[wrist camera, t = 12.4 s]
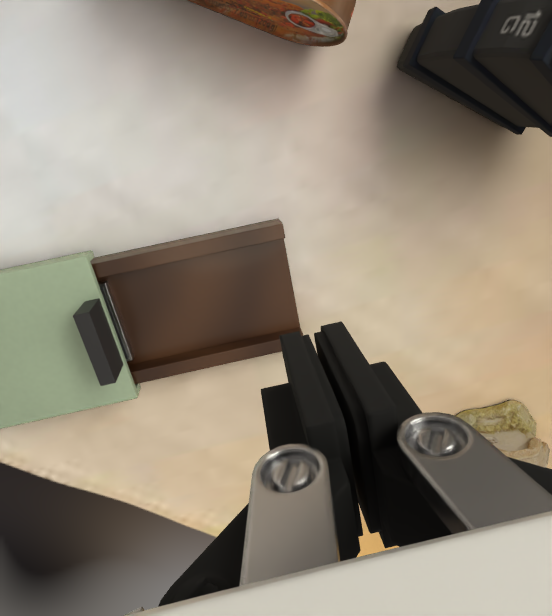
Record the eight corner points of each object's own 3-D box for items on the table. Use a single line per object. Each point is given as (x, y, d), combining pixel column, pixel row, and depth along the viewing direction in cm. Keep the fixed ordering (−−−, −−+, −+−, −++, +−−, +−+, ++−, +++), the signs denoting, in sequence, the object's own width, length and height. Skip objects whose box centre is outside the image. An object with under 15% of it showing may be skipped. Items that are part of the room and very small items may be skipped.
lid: (-27, 424, 39) (-59, 462, 35) (-100, 290, 34) (-148, 314, 30) (141, 387, 40) (130, 418, 35) (92, 250, 35) (73, 266, 31)
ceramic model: (440, 401, 46) (496, 469, 37) (541, 397, 47) (619, 461, 38) (421, 507, 51) (465, 589, 42) (513, 500, 52) (575, 579, 43)
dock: (-23, 406, 40) (-37, 422, 38) (-82, 295, 36) (-102, 305, 34) (300, 334, 41) (305, 346, 39) (278, 218, 37) (282, 223, 35)
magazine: (386, -9, 31) (616, -26, 20) (480, 80, 39) (678, 103, 28) (361, 48, 32) (566, 61, 21) (457, 123, 40) (640, 161, 29)
